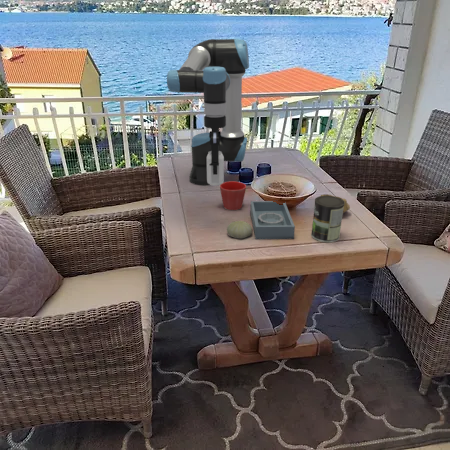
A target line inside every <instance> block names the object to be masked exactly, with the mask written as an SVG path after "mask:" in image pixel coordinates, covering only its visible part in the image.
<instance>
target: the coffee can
mask: <svg viewBox="0 0 450 450" xmlns="http://www.w3.org/2000/svg"><path fill="white" fill-rule="evenodd" d="M338 197H339V196H336V197H335V195H332V196H321V195H319V196H317V197H315V199H314V207H313V216H312V227H311V233H310V235H311V238H313V239H314V240H315V241H317V242H321V243H326V244H327V243H334V242H337V241H339V240H340V236H341V235H340V234H341V229H342V228H341V227H342V220H343V214H344V213H343V208H344V204H345V202H344V200H342V199H343V198H342V197H340V198H338ZM341 198H342V199H341Z"/></svg>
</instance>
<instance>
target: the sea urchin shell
mask: <svg viewBox="0 0 450 450" xmlns="http://www.w3.org/2000/svg"><path fill="white" fill-rule="evenodd" d="M226 232H227V235H229V237H232V238H235V239H245V238H247V237H250V236H251V235H252V233H253V226H251V224H250V223H249V222H246V221H244V220H236V221H232V222H230V223H229V224H228V225H227V227H226Z"/></svg>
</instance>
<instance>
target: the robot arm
mask: <svg viewBox="0 0 450 450" xmlns="http://www.w3.org/2000/svg"><path fill="white" fill-rule="evenodd" d="M248 49H249V48H248V43H247V42H246V40H244V39H238V38H227V39H226V38H223V39H214V38H211V39H206V40H203V41H201V42H199V43H198V44H197V43H196V45H194V46H193V47H192V48H190V50H189V52H188V56H187V58H186V60H185V61H184V62H183V63H182V65H181V67H180V68H179V69H174V70H173V69H172V70H171V69H170V70H169V71H168V72H167V75H166V84H167V85H166V86H167V89H168V91H169V92H172V93H178V94H179V93H186V94H187V93H188V94H189V93H194V94H198V93H199V94H201V93H202V94H203V104H202V105H201V106H202V107H201V108H202V109H203V113H204V116H203V123H204V124H203V126H204V128H205V129H206V128H207V129H211V130H210V131H208V132H202V133H197V134H196V135H194V136H193V137H192V138H191V145H190V146H191V161H192V163H191V165H192V166H191V170H190V174H189V175H188V176H189V182H190V183H191V184H193V185H197V186H211V185H210V184H208V183H207V155H208V152H209V151H211V164H209V165H210V166H211V180H212V183H219V151H221V152H222V154H223V156H224V162H230V163H231V162H232V163H236V162H237V163H238V162H243V161H244V159H245V156H246V150H247V144H248V137H246V136H245V133H244V131H242V104H243V103H242V102H243V101H242V96H243V91H242V89H243V88H242V87H243V85H242V84H243V76H244V75H245V74H246V70H248V69H249V68H250V62H249V61H250V60H249V51H248ZM220 129H222V130H220Z"/></svg>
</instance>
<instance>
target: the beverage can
mask: <svg viewBox="0 0 450 450" xmlns="http://www.w3.org/2000/svg"><path fill="white" fill-rule="evenodd" d="M209 164H211V151H209V152H208V155H207V183H208V184H210V185H209V186H212V187H220V185H221V184H223V183H224V182H225V181H224V180H225V176H224V175H225V161H224V156H223V154H222V152H221V151H219V183H212V180H211V166H210V165H209Z"/></svg>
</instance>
